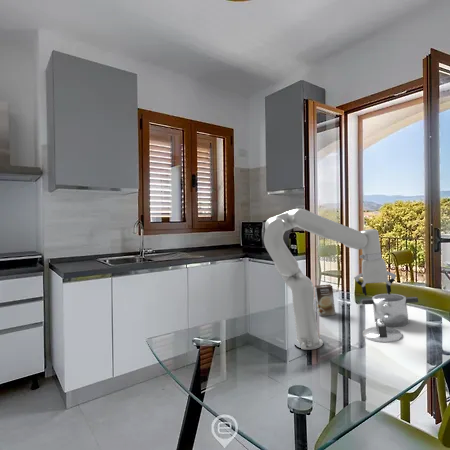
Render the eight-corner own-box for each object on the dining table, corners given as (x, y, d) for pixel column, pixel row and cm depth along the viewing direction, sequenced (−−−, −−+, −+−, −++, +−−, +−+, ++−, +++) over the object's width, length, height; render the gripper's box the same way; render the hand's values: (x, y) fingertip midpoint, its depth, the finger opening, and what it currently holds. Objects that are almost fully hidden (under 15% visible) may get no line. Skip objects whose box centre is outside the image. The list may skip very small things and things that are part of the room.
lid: (405, 342, 137) (404, 328, 137) (365, 343, 142) (363, 329, 142) (397, 328, 152) (396, 315, 152) (361, 329, 157) (359, 316, 157)
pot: (415, 315, 165) (412, 292, 164) (424, 326, 150) (421, 300, 150) (362, 317, 172) (360, 294, 172) (366, 327, 158) (363, 303, 157)
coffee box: (319, 316, 182) (315, 288, 182) (317, 312, 188) (313, 285, 188) (335, 314, 181) (332, 286, 181) (333, 311, 187) (329, 283, 187)
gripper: (352, 260, 145) (357, 297, 146) (395, 256, 140) (399, 295, 141) (351, 257, 152) (355, 293, 153) (391, 253, 147) (396, 290, 148)
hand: (376, 294), depth 147 cm, fingers open, 9 cm apart
